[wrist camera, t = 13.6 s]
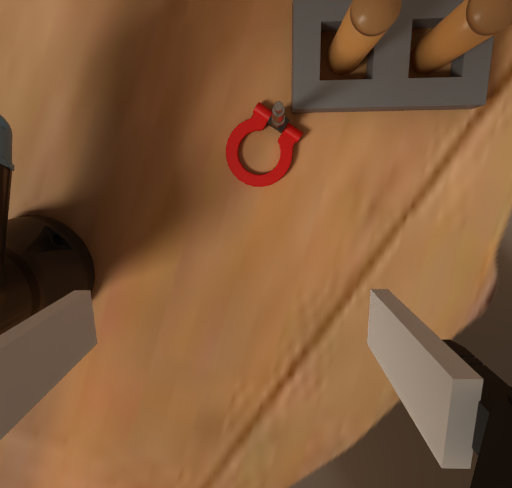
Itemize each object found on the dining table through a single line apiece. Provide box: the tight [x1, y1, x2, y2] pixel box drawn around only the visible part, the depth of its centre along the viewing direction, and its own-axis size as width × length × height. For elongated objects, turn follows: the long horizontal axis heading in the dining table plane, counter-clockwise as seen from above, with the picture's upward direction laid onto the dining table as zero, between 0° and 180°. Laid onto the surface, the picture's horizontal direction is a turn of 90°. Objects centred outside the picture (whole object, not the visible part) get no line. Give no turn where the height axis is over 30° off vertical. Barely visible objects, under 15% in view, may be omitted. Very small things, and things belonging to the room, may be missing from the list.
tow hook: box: [226, 102, 303, 187], centre depth 35 cm, size 8×13×9 cm
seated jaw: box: [410, 0, 512, 75], centre depth 32 cm, size 4×4×12 cm
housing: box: [292, 0, 494, 113], centre depth 37 cm, size 22×12×2 cm, turn 91°
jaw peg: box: [327, 0, 402, 75], centre depth 33 cm, size 4×4×12 cm
